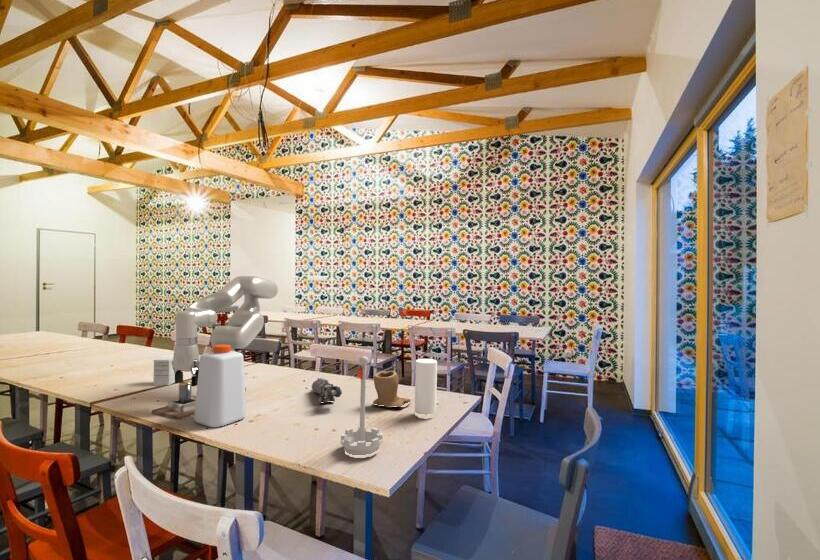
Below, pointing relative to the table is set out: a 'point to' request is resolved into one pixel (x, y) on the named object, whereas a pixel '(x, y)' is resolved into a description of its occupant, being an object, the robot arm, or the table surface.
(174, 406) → the docking plate
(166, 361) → the supplement box
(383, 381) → the stone cup
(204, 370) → the plastic bottle
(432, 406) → the tall white tube
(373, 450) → the flag stand
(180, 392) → the gold topped cylinder
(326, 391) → the grey lumpy piece
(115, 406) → the table surface
